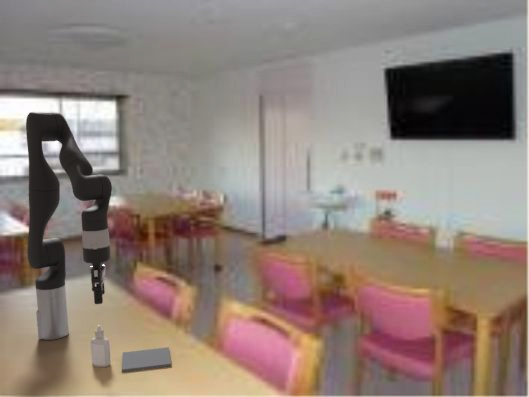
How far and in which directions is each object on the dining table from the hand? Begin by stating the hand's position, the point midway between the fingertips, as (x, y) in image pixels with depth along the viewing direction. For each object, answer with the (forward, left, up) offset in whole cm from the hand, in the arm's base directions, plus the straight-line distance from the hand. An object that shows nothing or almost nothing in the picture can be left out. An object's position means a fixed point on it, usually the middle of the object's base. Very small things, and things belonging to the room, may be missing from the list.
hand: (99, 298), depth 156 cm
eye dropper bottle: (-1, 0, -20) cm, 20 cm away
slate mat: (+12, -1, -20) cm, 24 cm away
